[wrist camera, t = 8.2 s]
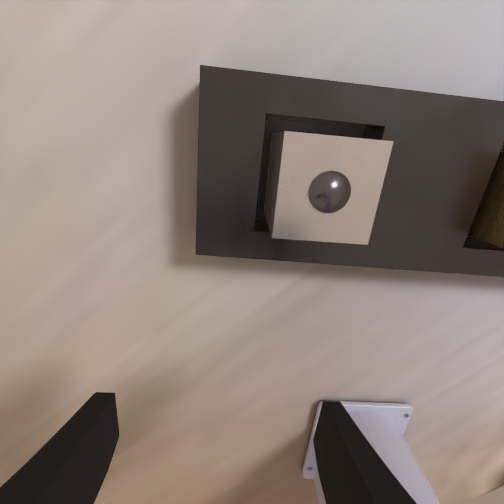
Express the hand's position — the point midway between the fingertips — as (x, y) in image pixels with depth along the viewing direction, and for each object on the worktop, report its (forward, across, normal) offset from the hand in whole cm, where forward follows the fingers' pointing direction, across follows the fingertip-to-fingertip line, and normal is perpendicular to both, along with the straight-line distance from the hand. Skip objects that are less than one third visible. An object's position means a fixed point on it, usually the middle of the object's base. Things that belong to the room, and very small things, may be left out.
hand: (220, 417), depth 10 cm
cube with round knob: (+10, -4, -7) cm, 13 cm away
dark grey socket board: (+10, -10, -8) cm, 16 cm away
